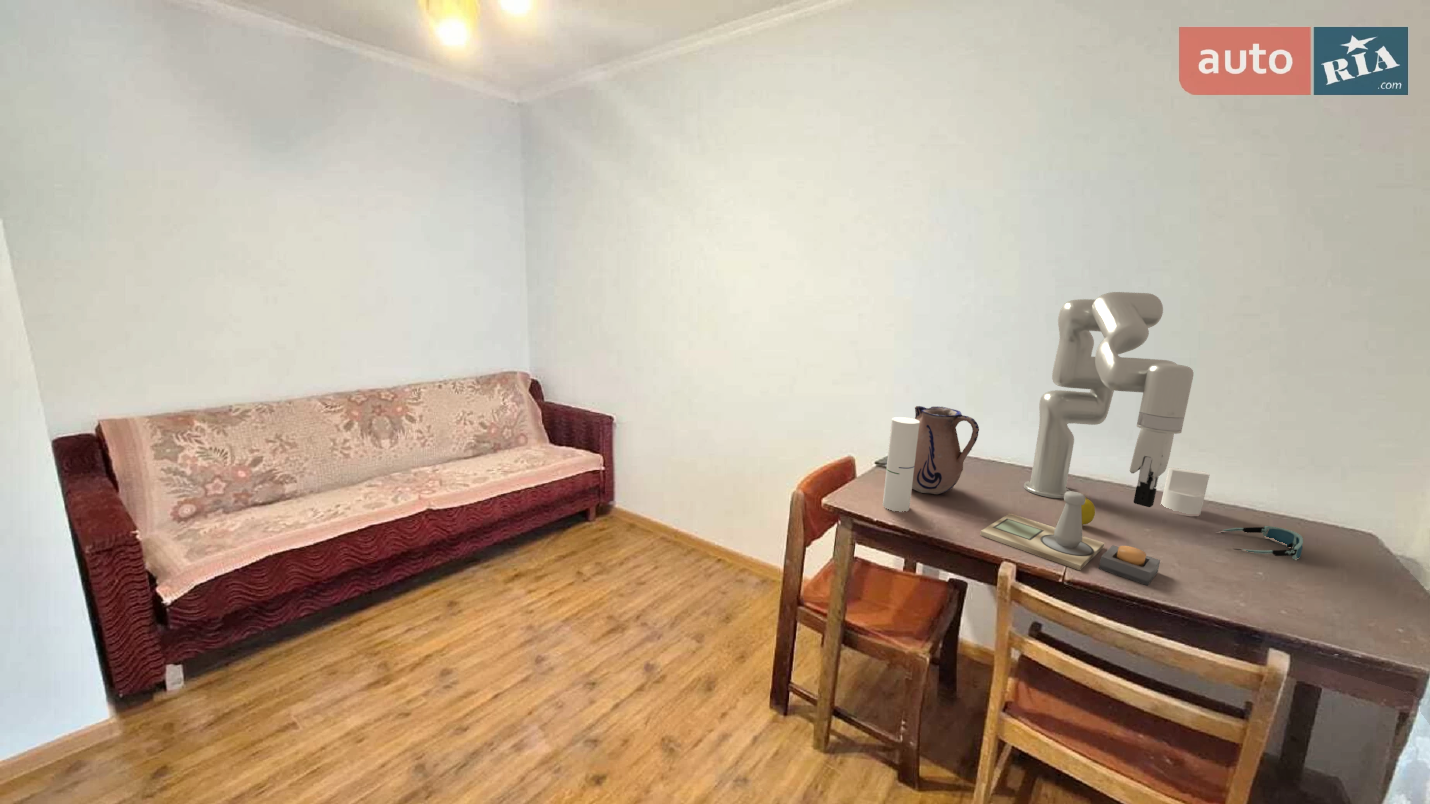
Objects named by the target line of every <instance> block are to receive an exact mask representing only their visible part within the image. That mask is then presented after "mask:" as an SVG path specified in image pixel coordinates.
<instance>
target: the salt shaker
mask: <svg viewBox="0 0 1430 804" xmlns="http://www.w3.org/2000/svg"><path fill="white" fill-rule="evenodd" d="M1085 497H1086V496H1085V494H1083V493H1082V492H1081V493H1080V492H1077V491H1073V490H1072V491H1071V490H1070V491H1068V492H1066V493H1065V495H1064V498H1063V501H1064V502H1065V504H1064V507H1063V509H1062V512H1061V514H1060V517H1059V519H1058V521H1057V524H1056V525H1055V531H1054V536H1055V539H1056V543H1058V544H1059V545H1061V546H1063V547H1068V548H1075V547H1077V546H1078V545H1079V543H1080V542H1081V541H1082V536H1083V525H1082V512H1081V505H1084V504H1085Z"/></svg>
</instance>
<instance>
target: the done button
mask: <svg viewBox="0 0 1430 804" xmlns="http://www.w3.org/2000/svg"><path fill="white" fill-rule="evenodd" d="M1118 547H1119V548H1118V553H1117V559H1119V560H1122V561H1125V562H1128V563H1131V564H1134V565H1137V566H1140V567H1143V566H1144V563H1145V558H1146V556H1147V553H1146V552H1145V551H1144V550H1142V549H1139V548H1136V547H1134V546H1129V545H1120V546H1118Z"/></svg>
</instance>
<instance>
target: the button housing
mask: <svg viewBox="0 0 1430 804" xmlns="http://www.w3.org/2000/svg"><path fill="white" fill-rule="evenodd" d="M1118 548H1119V546H1116V545H1114V544H1113V545H1111V546H1110V547H1109V548H1108V549H1107V550H1106V551H1105V552H1104V553H1103V554H1102V555H1101V556H1100V560H1099V564H1098V570H1101V569H1102V571H1104V572H1107V573H1110V574H1113V575H1115V576H1119V577H1121V578H1124V579H1128V580H1130V581H1133V582H1136V583H1139V584H1141V585H1145V586H1149V584H1150V583H1151V582H1152V581H1153V579H1154V578H1155V577H1154V576H1156V575H1157V574H1158V573H1157V572H1159V567H1160V564H1161V559H1158V558H1154V557H1151V556H1148V555H1146V558H1145V563H1144V566H1143V567H1140V566H1137V565H1134V564H1131V563H1128V562H1125V561H1122V560H1119V559H1117V553H1118Z"/></svg>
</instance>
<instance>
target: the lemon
mask: <svg viewBox="0 0 1430 804" xmlns="http://www.w3.org/2000/svg"><path fill="white" fill-rule="evenodd" d="M1081 512H1082V526H1084V525H1088V524H1090V523H1091V522H1092V521H1093V520H1094V518H1095V516H1096V508H1095V504H1094V503H1093V502H1092V501H1091V500H1090V499H1088V498H1087V497H1086V496H1085V504H1084V505H1081Z"/></svg>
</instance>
